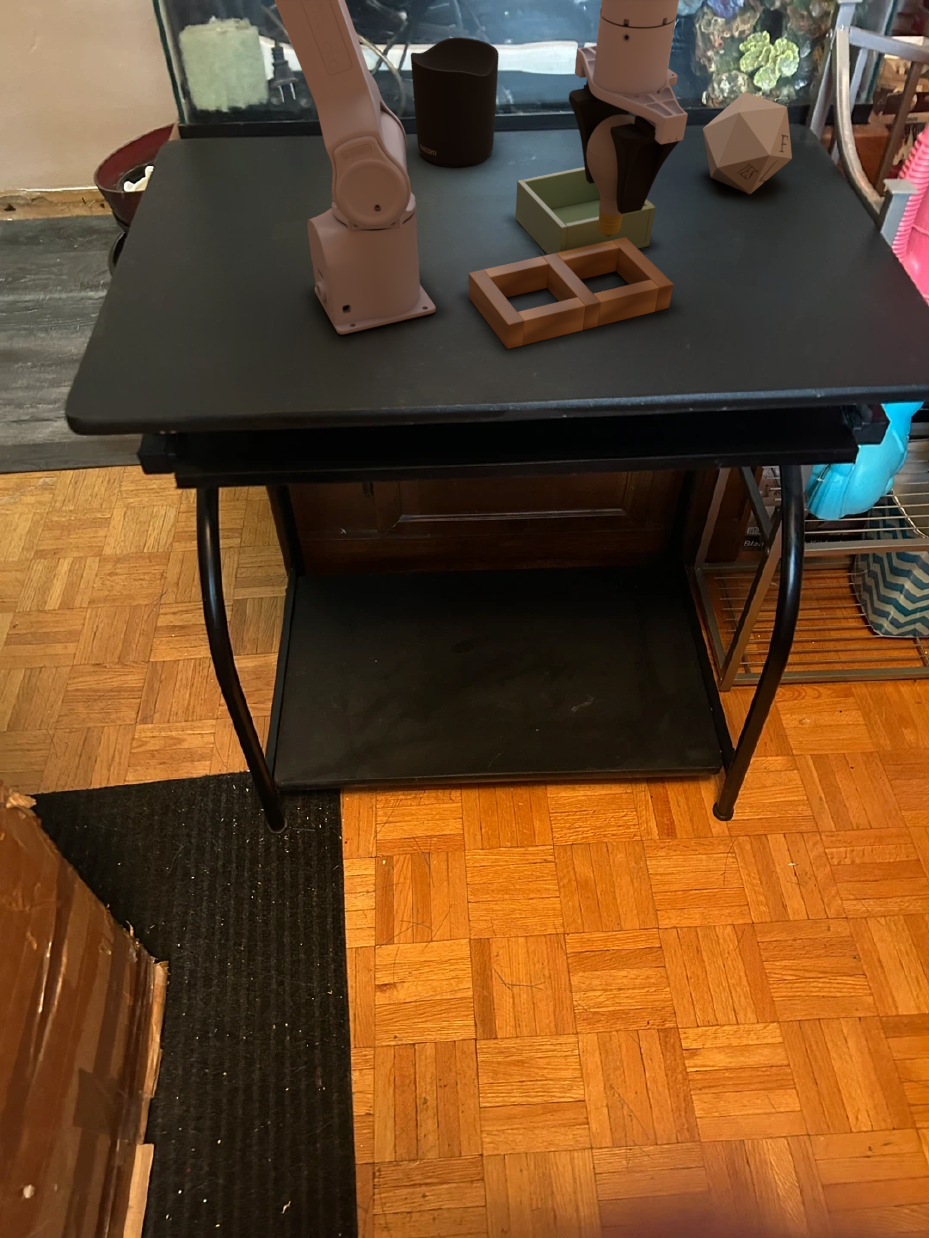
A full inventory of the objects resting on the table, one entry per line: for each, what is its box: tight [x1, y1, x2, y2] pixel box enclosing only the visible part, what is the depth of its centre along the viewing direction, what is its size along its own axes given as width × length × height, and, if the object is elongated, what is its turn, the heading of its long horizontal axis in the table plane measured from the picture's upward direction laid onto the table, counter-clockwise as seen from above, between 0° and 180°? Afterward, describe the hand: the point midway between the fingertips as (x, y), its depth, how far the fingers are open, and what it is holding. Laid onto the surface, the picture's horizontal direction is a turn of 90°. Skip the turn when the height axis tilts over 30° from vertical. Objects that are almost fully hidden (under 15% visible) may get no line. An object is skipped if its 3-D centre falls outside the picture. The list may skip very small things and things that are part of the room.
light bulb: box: [586, 114, 635, 237], centre depth 76 cm, size 5×5×10 cm
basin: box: [515, 166, 656, 255], centre depth 89 cm, size 10×10×4 cm
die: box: [702, 91, 793, 195], centre depth 94 cm, size 8×9×10 cm
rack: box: [468, 237, 674, 350], centre depth 82 cm, size 16×9×2 cm, turn 112°
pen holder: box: [410, 37, 500, 168], centre depth 98 cm, size 9×9×10 cm
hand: (613, 195), depth 77 cm, fingers closed on light bulb, 5 cm apart
